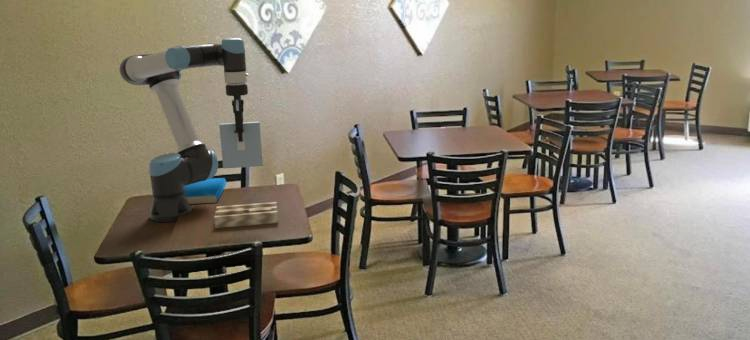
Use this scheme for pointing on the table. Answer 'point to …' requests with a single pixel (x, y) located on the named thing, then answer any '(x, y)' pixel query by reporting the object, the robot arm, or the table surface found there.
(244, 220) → the rack
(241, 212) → the offcut left
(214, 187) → the book
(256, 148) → the pale blue panel
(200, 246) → the table surface
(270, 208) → the offcut right
